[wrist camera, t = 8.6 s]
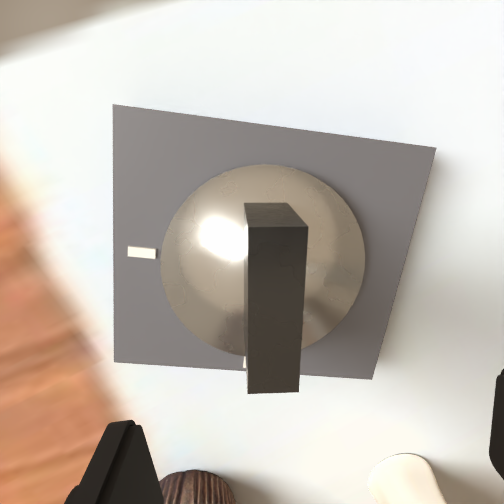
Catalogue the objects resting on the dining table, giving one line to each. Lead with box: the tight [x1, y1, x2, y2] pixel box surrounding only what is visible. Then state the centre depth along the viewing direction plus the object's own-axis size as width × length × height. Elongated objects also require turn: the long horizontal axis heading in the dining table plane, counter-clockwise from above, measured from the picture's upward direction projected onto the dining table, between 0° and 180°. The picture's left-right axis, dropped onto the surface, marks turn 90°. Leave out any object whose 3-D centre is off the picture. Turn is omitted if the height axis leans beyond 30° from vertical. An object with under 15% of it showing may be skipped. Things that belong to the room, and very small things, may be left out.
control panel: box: [113, 104, 436, 380], centre depth 22 cm, size 18×16×3 cm
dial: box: [160, 164, 365, 394], centre depth 18 cm, size 12×12×6 cm
